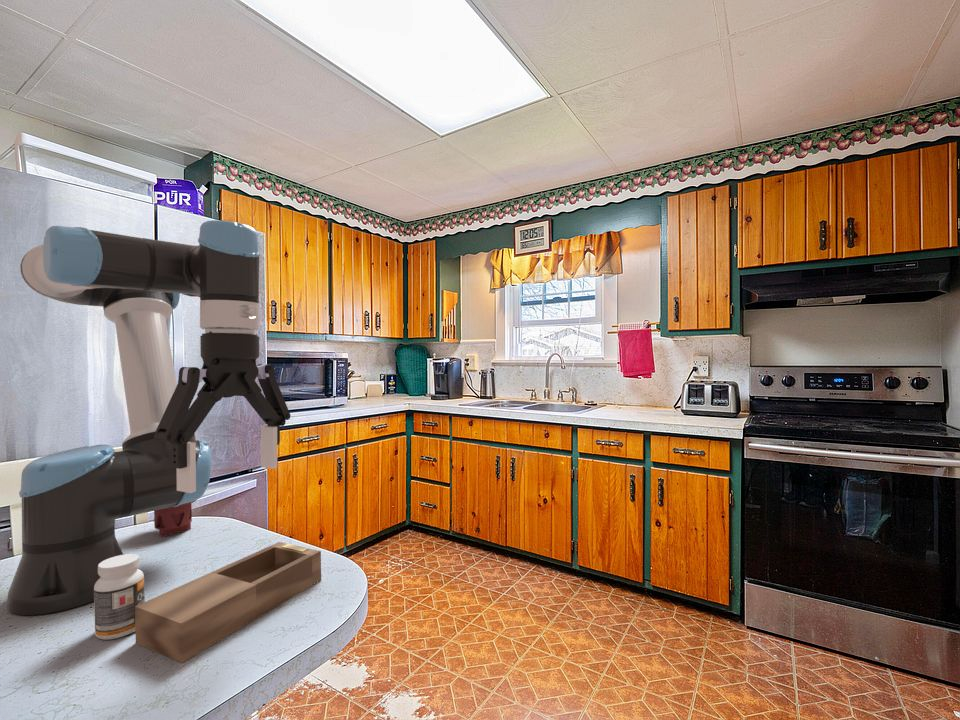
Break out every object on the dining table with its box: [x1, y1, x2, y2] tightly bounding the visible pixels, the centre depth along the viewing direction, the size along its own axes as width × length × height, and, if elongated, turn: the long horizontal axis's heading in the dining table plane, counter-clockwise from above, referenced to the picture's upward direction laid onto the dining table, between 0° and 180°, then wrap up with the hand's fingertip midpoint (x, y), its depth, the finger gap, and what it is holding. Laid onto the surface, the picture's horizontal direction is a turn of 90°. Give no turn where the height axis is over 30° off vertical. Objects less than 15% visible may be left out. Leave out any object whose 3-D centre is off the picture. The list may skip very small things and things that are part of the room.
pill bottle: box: [93, 553, 146, 641], centre depth 67 cm, size 6×6×10 cm
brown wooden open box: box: [134, 541, 322, 663], centre depth 73 cm, size 10×24×5 cm, turn 155°
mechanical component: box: [153, 500, 197, 538], centre depth 105 cm, size 12×10×10 cm
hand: (231, 478), depth 69 cm, fingers open, 13 cm apart
